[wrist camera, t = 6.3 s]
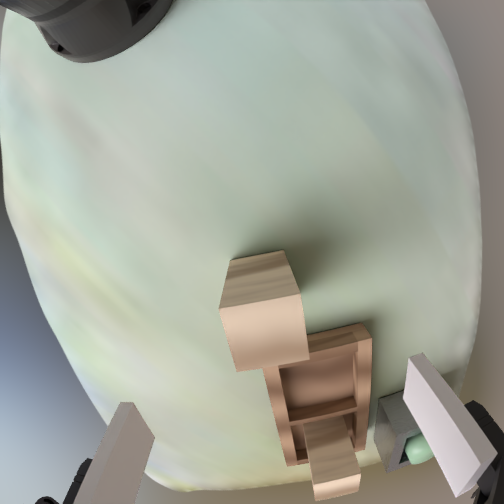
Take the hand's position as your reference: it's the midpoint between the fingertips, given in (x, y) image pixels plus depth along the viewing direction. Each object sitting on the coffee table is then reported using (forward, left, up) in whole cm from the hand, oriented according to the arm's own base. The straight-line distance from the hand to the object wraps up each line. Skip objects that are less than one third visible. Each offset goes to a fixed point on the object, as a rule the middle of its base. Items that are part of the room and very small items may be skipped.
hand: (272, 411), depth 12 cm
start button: (+25, +17, -11) cm, 32 cm away
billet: (0, 0, -17) cm, 17 cm away
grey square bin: (+25, +17, -17) cm, 35 cm away
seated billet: (+22, +4, -15) cm, 27 cm away
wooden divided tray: (+17, +4, -17) cm, 24 cm away
